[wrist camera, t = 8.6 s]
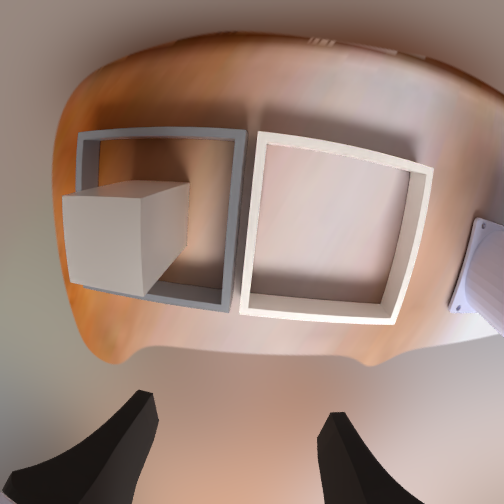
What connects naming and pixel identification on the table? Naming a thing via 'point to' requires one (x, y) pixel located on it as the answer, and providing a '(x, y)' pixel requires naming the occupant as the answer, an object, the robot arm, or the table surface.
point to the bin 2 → (402, 258)
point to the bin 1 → (223, 297)
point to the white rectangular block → (125, 233)
